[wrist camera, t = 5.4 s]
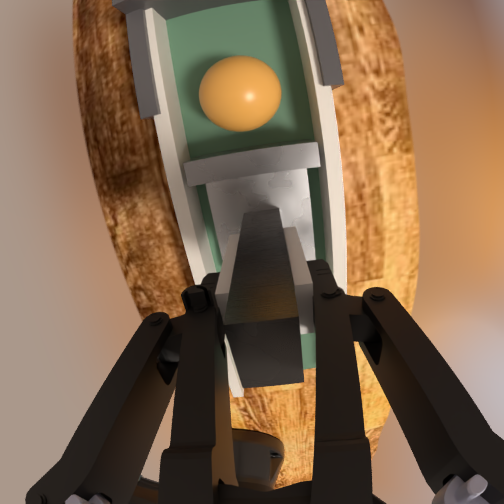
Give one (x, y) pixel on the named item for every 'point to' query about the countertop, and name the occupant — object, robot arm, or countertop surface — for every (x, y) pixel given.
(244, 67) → the ball
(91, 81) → the countertop surface
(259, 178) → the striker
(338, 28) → the countertop surface
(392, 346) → the robot arm
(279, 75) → the board
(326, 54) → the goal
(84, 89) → the countertop surface
